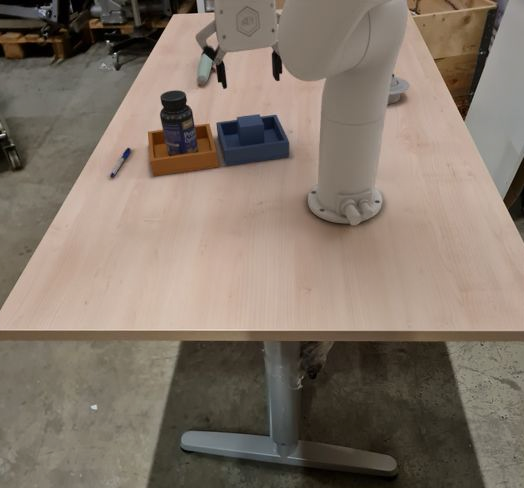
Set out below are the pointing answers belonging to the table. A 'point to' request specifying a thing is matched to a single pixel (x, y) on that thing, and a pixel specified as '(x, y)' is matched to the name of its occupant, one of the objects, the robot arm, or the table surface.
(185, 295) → the table surface
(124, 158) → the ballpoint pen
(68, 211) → the table surface
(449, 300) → the table surface
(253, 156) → the blue tray
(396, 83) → the grey flanged cylinder
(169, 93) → the pill bottle
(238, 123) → the block
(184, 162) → the amber tray
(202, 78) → the flashlight
